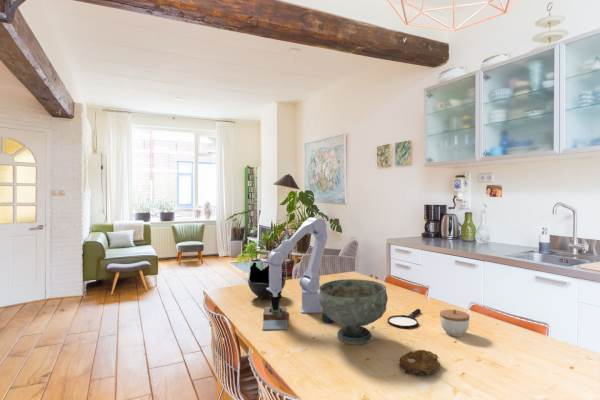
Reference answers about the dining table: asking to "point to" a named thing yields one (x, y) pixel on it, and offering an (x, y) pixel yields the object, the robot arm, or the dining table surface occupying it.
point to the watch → (326, 318)
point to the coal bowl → (260, 281)
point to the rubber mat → (275, 325)
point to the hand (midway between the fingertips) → (275, 308)
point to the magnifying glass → (404, 320)
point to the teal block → (275, 310)
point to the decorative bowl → (353, 306)
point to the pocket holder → (275, 314)
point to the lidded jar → (454, 322)
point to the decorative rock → (419, 362)
